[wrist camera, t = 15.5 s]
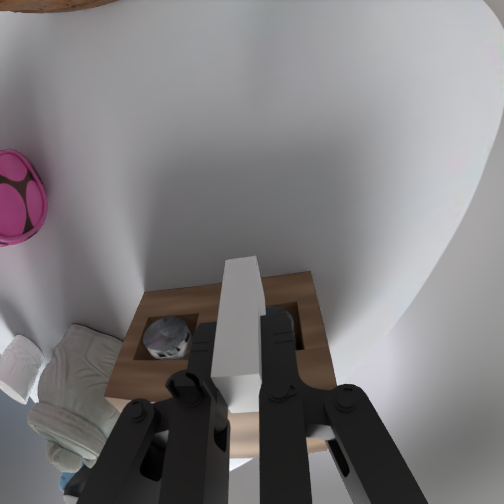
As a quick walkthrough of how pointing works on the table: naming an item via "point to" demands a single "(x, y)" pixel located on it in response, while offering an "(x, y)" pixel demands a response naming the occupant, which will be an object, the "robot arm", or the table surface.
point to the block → (49, 5)
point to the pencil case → (19, 199)
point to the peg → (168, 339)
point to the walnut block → (206, 310)
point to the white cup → (20, 368)
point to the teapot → (76, 399)
